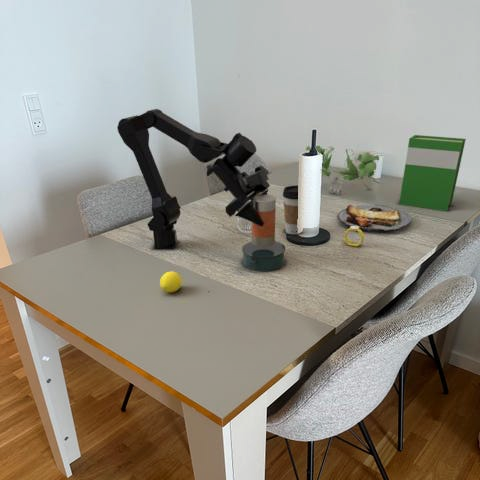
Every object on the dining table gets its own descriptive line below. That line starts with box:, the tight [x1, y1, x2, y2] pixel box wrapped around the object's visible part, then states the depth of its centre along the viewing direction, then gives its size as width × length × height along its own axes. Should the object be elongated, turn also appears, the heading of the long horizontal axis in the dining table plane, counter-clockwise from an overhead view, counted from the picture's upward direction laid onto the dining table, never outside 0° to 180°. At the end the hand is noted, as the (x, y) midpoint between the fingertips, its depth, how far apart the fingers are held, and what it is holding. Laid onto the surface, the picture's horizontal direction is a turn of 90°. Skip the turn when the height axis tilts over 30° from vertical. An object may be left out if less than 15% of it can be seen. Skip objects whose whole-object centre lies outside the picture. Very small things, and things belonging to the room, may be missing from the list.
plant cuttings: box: [305, 145, 381, 195], centre depth 193 cm, size 35×17×22 cm
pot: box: [241, 240, 286, 272], centre depth 137 cm, size 13×16×4 cm
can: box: [250, 194, 277, 247], centre depth 131 cm, size 7×7×13 cm
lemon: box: [159, 270, 183, 293], centre depth 123 cm, size 7×5×5 cm
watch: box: [343, 226, 365, 247], centre depth 145 cm, size 6×3×6 cm, turn 57°
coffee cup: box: [282, 185, 299, 236], centre depth 154 cm, size 8×8×15 cm
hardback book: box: [398, 134, 467, 212], centre depth 172 cm, size 18×7×24 cm, turn 58°
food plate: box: [336, 204, 413, 232], centre depth 163 cm, size 25×23×4 cm
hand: (267, 221), depth 131 cm, fingers closed on can, 7 cm apart
